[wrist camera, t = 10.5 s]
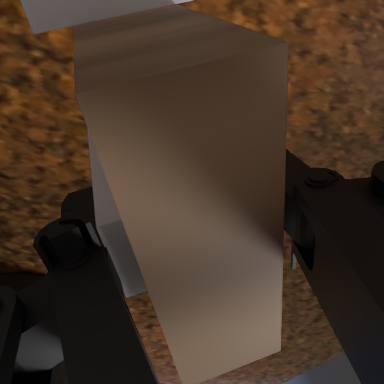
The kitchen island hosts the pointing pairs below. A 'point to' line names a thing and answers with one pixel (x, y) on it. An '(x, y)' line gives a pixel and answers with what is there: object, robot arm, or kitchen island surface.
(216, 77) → the bookend
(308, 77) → the kitchen island surface
